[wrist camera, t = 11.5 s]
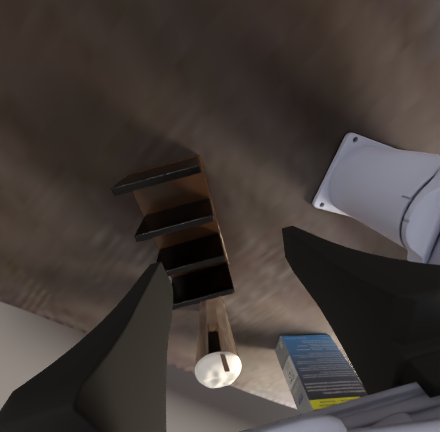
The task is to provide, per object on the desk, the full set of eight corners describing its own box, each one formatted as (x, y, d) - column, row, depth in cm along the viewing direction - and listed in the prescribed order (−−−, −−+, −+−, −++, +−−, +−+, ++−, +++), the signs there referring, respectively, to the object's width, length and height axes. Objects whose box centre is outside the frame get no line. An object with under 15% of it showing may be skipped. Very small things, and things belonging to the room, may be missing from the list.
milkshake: (232, 286, 27) (253, 370, 18) (224, 316, 29) (239, 404, 20) (197, 284, 26) (200, 372, 17) (192, 315, 28) (192, 407, 19)
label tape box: (273, 349, 33) (314, 463, 22) (280, 332, 32) (327, 446, 21) (321, 348, 35) (382, 454, 24) (330, 332, 33) (400, 437, 22)
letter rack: (127, 173, 19) (107, 189, 15) (199, 154, 19) (201, 164, 15) (173, 276, 25) (168, 311, 20) (228, 261, 25) (236, 292, 20)
